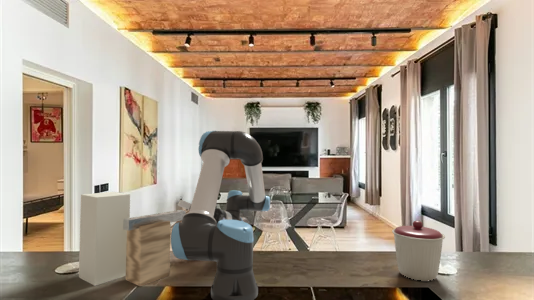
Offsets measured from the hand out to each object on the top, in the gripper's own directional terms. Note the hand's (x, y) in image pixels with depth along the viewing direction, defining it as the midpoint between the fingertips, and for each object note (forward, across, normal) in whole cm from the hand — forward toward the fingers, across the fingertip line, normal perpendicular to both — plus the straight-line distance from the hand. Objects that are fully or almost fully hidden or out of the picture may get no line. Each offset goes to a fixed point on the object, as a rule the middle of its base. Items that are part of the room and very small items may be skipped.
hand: (190, 206), depth 127 cm
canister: (-44, -82, +3) cm, 93 cm away
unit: (+15, +13, -34) cm, 39 cm away
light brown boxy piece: (+8, -1, -29) cm, 30 cm away
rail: (+12, +1, -10) cm, 16 cm away
